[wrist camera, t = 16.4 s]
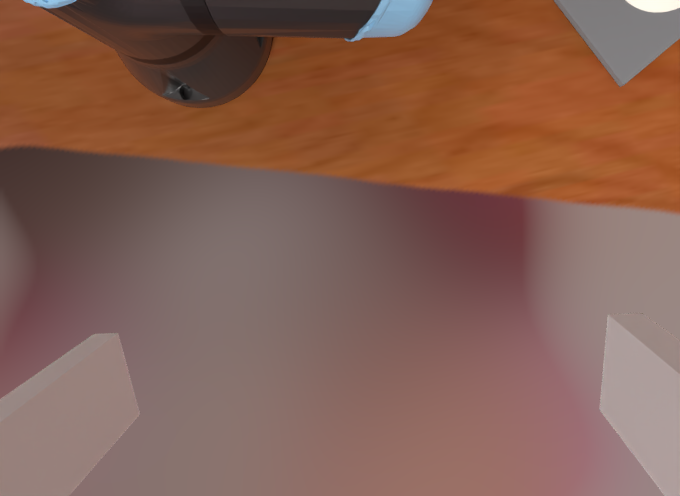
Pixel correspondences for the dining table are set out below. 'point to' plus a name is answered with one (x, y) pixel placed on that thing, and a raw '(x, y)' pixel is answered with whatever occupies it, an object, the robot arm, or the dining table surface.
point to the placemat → (625, 31)
